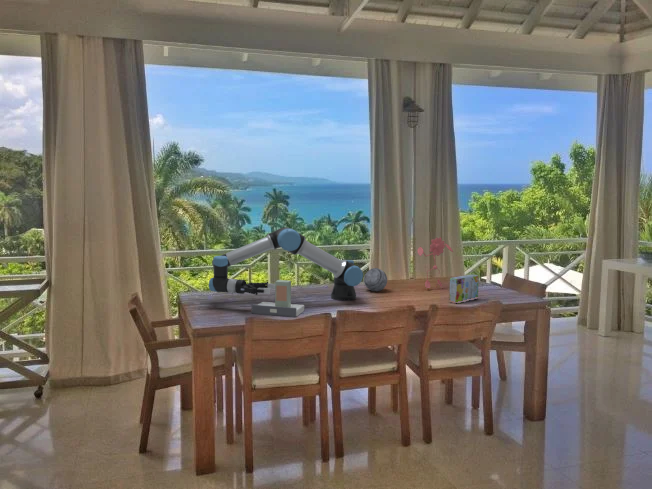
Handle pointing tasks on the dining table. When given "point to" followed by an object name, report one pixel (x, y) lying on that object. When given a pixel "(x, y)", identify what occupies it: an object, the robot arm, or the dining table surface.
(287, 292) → the carton
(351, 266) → the robot arm
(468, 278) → the snack box
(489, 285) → the dining table surface
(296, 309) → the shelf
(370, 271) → the decorative orb
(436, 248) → the figurine
